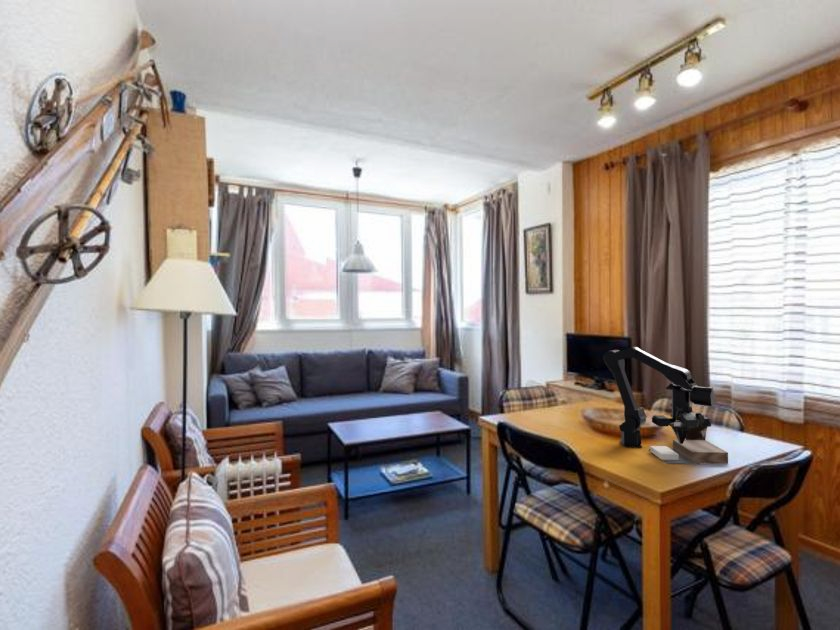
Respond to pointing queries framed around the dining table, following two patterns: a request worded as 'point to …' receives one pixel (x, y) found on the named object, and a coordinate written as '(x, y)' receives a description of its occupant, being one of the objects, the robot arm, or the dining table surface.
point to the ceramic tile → (664, 453)
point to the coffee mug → (697, 433)
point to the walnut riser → (701, 451)
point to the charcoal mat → (680, 460)
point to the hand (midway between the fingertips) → (681, 443)
